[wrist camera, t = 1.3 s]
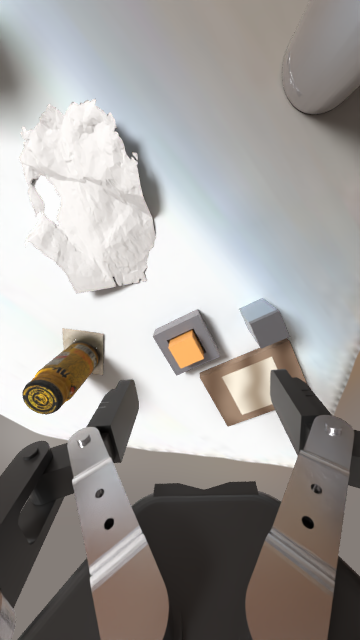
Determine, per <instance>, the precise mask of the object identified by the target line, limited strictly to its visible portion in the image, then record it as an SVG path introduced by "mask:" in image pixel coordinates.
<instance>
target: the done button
mask: <svg viewBox="0 0 360 640" xmlns="http://www.w3.org/2000/svg"><path fill="white" fill-rule="evenodd" d="M168 348H169V350H170V351H171V353H172V355H173V356H174V358H175V360H176V362H177V363H178V365H179V367H180V368H183V367H186V366H188V365H190V364H193V363H195V362H197V361H200V360H202V359H204V352H203V347H202V346H201V344H200V342H199V340H198V338H197V336H196V334H195V333H194V331H193V329H191V330H189V331H186V332H184V333H182V334H180V335H178V336H176V337H174V338H171V339H170V343H169V347H168Z"/></svg>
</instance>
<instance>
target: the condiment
mask: <svg viewBox="0 0 360 640" xmlns="http://www.w3.org/2000/svg"><path fill="white" fill-rule="evenodd" d="M62 330H63V345H64V351H63V352H62V353H60V354H59V355H58V356H57V357H55V358H54V359H53V360H52V361H50V362H49V363H48V364H47V365H45V366H44V367H43V368H42V369H41V370H39V371H38V372H37V374H36V375H35V378H33V379H32V381H31V382H29V383H28V384H27V385H26V386H25V388H24V390H23V399H24V402H25V403H26V405H27V406H28V407H29V408H30V409H31V410H33V411H35V412H37V413H40V414H51V413H53V412H55V411H57V410H58V409H59V408H60V407H61V406H62V405H63V404H64V403H65V402H66V401H68V400H69V399H70V398H71V397H72V396H73V395H74V394H75V393H76V391H77V390H78V389H79V388H80V387H81V385H82V384H83V383H84V382H85V380H86V379H87V378H88V377H89V375H90V374H91V373H92V374H98V375H103V334H100V333H94V332H88V331H81V330H72V329H64V328H62ZM75 339H76V341H75ZM73 341H75V342H73ZM96 348H97V349H96Z"/></svg>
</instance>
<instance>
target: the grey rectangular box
mask: <svg viewBox="0 0 360 640" xmlns="http://www.w3.org/2000/svg"><path fill="white" fill-rule="evenodd" d="M239 310H240V312H241V314H242V317H243V319H244V321H245V323H246V325H247V328H248V330H249V331H250V333H251V334H252V336H253V337H254V339H255V340H256V342H257V343H258V345H259V346H260V348H261V349H262V348H264V347H266V346H269V345H271V344H274V343H276V342H278V341H281V340H283V339H286V338H288V337H290V336H289V333H288V331H287V328H286V326H285V323H284V321H283V318H282V316H281V313H280V311H279V310H278V309H276V308H275V307H274V306H272V305H271V304H270V303H268V302H267V301H266V300H264V299H263V298H262V299H259V300H257V301H255V302H253V303H251V304H249V305H246V306H244V307H242V308H240V309H239Z"/></svg>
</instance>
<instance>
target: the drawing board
mask: <svg viewBox="0 0 360 640" xmlns="http://www.w3.org/2000/svg"><path fill="white" fill-rule="evenodd" d="M277 369H286V370H287V371H288V373H289V374H290V375H291V377H292V378H294V377H297V378H299V379H301V380H302V381H304V382H305V383H306V380H305V378H304V375H303V373H302V371H301V368H300V366H299V363H298V361H297V358H296V356H295V353H294V351H293V348H292V346H291V343H290V341H289V340H288V339H287V338H286V339H283V340H281V341H278V342H276V343H274V344H271V345H269V346H266V347H264V348H262V349H261V348H258V349H256V350H253V351H251V352H249V353H246V354H244V355H241V356H239V357H237V358H234V359H232V360H229V361H227V362H225V363H222V364H220V365H217V366H215V367H213V368H210V369H208V370H206V371H203V372H201V373H200V379H201V380H202V382H203V384H204V386H205V387H206V389H207V391H208V393H209V394H210V396H211V398H212V400H213V401H214V403H215V405H216V407H217V408H218V410H219V412H220V414H221V416H222V417H223V419H224V421H225V423H226V424H227V426H231V425H234V424H236V423H239V422H242V421H245V420H248V419H251V418H253V417H256V416H259V415H262V414H265V413H267V412H270V411H273V410H275V408H274V406H273V404H272V401H271V397H270V372H271V370H277ZM306 384H307V383H306Z"/></svg>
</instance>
